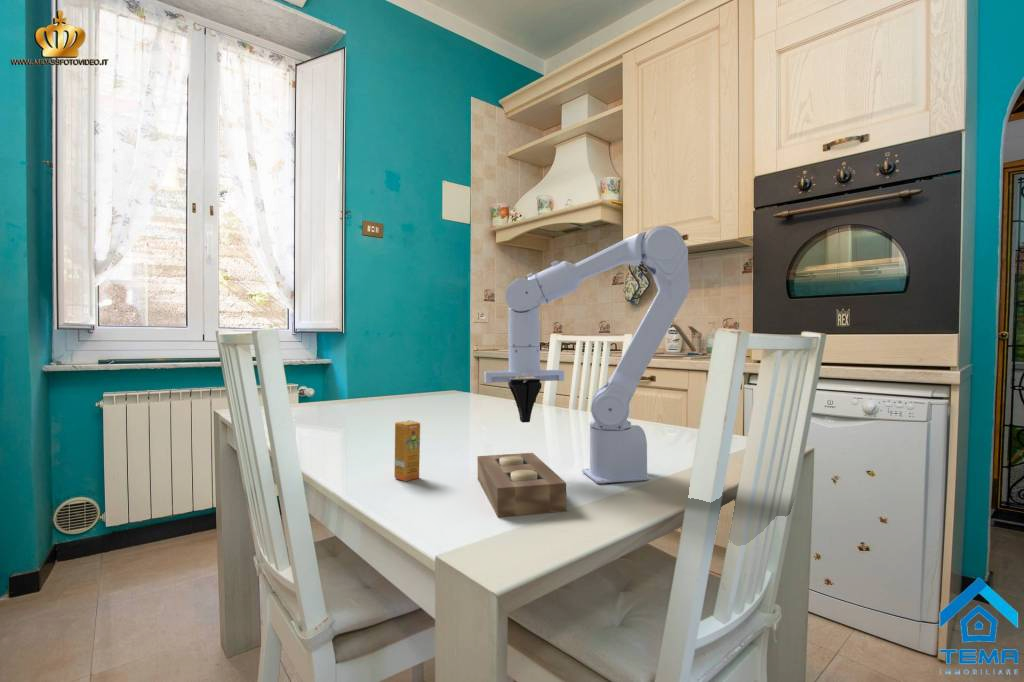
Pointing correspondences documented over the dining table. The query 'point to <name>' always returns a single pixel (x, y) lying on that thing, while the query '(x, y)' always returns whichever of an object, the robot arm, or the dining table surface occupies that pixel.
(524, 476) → the peg
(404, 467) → the supplement box
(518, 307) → the robot arm
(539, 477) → the wooden peg hole block
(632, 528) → the dining table surface
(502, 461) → the peg
